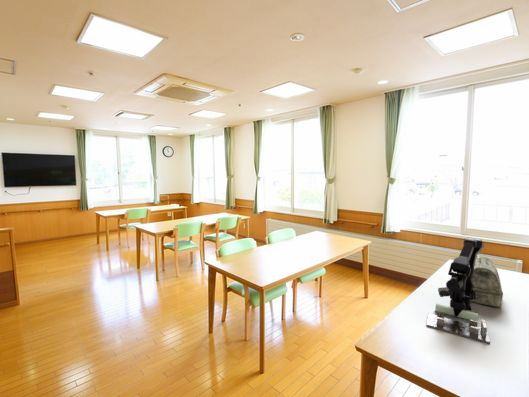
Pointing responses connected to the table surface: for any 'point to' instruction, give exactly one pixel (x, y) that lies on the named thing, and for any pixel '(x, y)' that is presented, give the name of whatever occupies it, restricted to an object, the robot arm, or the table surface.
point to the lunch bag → (486, 283)
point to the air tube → (462, 314)
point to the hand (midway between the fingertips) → (455, 314)
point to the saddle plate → (459, 327)
